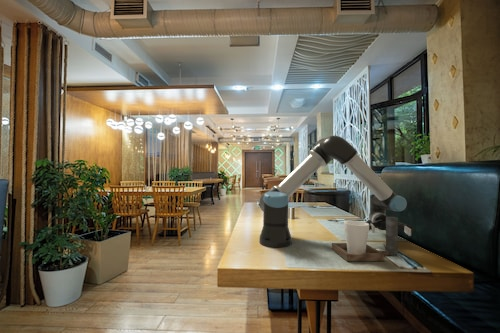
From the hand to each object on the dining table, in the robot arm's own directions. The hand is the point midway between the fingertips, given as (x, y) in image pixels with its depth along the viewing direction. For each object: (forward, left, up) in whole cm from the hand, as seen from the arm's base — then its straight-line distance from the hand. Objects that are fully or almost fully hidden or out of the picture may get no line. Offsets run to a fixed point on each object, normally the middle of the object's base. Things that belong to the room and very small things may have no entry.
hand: (391, 231), depth 103 cm
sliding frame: (-12, -3, -9) cm, 15 cm away
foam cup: (-17, -3, -9) cm, 20 cm away
